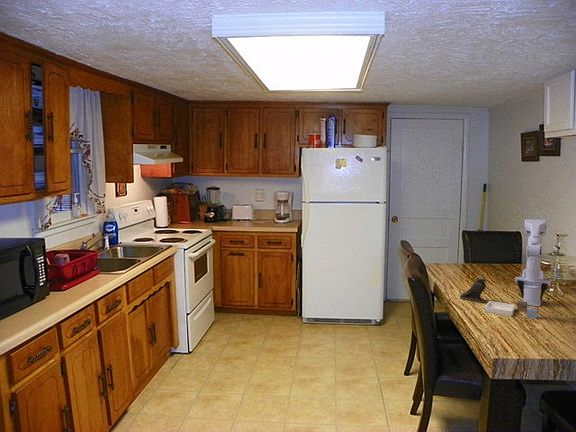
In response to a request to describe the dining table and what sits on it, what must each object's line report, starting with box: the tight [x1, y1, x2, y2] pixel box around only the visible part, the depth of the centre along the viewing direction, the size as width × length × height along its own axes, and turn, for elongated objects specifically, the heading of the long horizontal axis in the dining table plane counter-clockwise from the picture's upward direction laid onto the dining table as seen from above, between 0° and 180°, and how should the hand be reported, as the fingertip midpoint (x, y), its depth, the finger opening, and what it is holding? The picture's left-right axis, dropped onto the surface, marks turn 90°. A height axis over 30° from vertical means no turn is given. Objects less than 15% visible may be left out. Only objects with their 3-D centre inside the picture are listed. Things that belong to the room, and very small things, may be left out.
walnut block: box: [516, 300, 528, 313], centre depth 219 cm, size 4×4×4 cm
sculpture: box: [459, 277, 487, 305], centre depth 235 cm, size 6×13×13 cm, turn 44°
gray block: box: [526, 306, 538, 320], centre depth 209 cm, size 4×4×4 cm
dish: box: [484, 300, 516, 317], centre depth 218 cm, size 12×12×2 cm
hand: (531, 298), depth 207 cm, fingers open, 7 cm apart
